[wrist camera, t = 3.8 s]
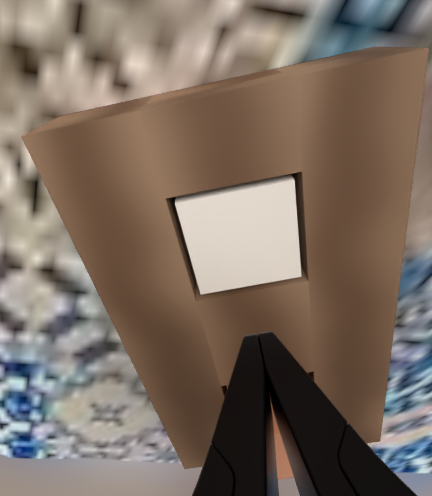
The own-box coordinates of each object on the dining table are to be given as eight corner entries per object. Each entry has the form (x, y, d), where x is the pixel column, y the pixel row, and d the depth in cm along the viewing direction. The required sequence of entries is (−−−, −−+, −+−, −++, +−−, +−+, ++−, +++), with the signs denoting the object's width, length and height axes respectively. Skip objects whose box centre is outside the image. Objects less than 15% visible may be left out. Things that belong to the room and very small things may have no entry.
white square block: (277, 154, 16) (294, 179, 13) (285, 239, 18) (301, 276, 15) (179, 174, 16) (174, 203, 13) (200, 254, 19) (200, 294, 16)
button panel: (374, 46, 14) (429, 47, 11) (357, 390, 27) (379, 441, 23) (61, 115, 15) (21, 136, 12) (186, 416, 28) (184, 469, 24)
